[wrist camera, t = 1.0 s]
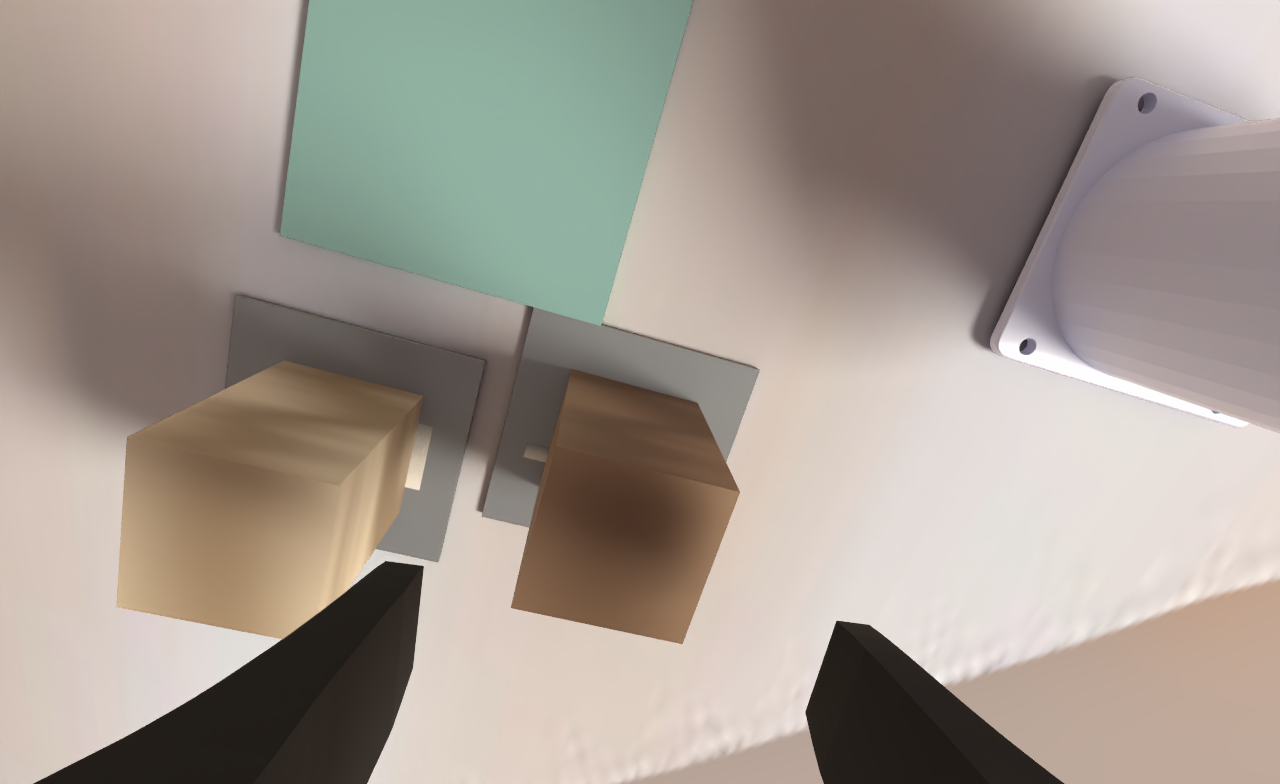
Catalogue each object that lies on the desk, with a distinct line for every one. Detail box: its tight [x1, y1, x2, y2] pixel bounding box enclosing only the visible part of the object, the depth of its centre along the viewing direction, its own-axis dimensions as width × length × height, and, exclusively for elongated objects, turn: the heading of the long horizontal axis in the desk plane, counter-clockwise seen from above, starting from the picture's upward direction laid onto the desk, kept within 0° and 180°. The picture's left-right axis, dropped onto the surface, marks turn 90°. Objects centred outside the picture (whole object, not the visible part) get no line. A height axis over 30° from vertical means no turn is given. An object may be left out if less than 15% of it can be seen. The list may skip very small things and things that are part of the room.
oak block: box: [116, 360, 423, 639], centre depth 15 cm, size 4×4×6 cm
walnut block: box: [511, 369, 740, 644], centre depth 16 cm, size 4×4×6 cm
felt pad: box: [280, 0, 693, 326], centre depth 16 cm, size 9×9×1 cm
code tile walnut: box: [482, 307, 760, 527], centre depth 19 cm, size 7×7×1 cm
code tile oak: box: [225, 295, 486, 562], centre depth 18 cm, size 7×7×1 cm
